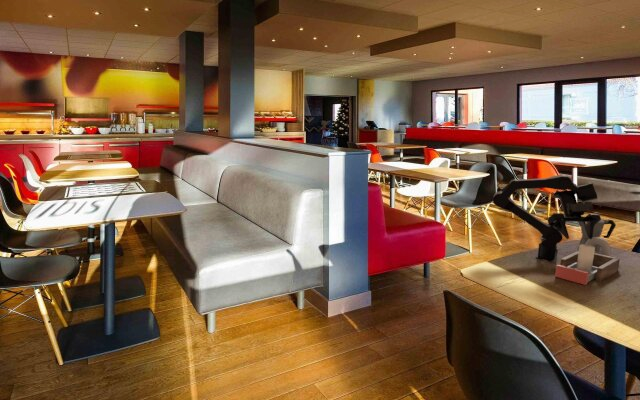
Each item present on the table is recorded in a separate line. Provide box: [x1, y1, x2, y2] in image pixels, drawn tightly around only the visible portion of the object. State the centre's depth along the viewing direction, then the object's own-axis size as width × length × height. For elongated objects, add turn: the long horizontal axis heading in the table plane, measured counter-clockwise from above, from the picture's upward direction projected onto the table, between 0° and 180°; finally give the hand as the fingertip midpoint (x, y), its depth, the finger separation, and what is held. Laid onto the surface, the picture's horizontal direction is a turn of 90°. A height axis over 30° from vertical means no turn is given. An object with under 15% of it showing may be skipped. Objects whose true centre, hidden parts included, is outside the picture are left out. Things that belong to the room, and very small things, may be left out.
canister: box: [576, 244, 595, 273], centre depth 176 cm, size 5×5×10 cm
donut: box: [585, 236, 612, 256], centre depth 193 cm, size 10×4×10 cm, turn 40°
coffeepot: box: [576, 213, 617, 252], centre depth 201 cm, size 15×9×18 cm, turn 70°
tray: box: [554, 262, 598, 286], centre depth 174 cm, size 11×17×4 cm, turn 130°
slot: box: [559, 251, 621, 282], centre depth 180 cm, size 15×18×5 cm
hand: (579, 238), depth 178 cm, fingers open, 9 cm apart
